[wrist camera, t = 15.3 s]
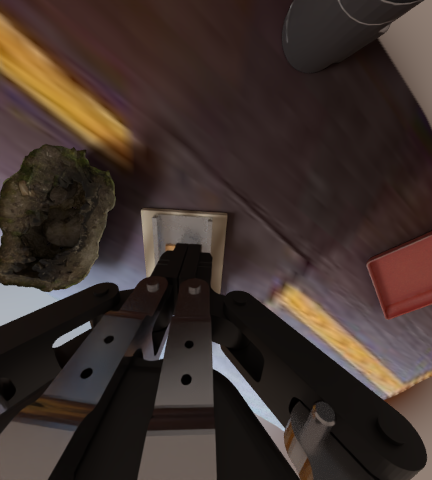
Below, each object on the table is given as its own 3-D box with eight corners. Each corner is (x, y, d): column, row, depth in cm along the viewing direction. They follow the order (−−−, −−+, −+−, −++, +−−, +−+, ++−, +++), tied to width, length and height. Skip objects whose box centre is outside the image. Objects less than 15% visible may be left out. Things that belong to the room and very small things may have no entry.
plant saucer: (377, 311, 51) (387, 321, 48) (356, 255, 45) (366, 264, 42) (459, 279, 47) (475, 288, 44) (449, 213, 41) (468, 219, 38)
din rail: (212, 217, 39) (212, 221, 37) (207, 304, 48) (206, 312, 46) (155, 213, 39) (151, 217, 37) (160, 302, 48) (157, 310, 46)
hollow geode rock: (117, 144, 40) (9, 90, 27) (146, 181, 34) (27, 133, 22) (61, 250, 49) (-41, 246, 36) (77, 294, 43) (-38, 307, 30)
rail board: (226, 213, 41) (227, 215, 39) (218, 302, 50) (218, 306, 48) (143, 207, 40) (140, 210, 39) (150, 298, 49) (148, 303, 48)
